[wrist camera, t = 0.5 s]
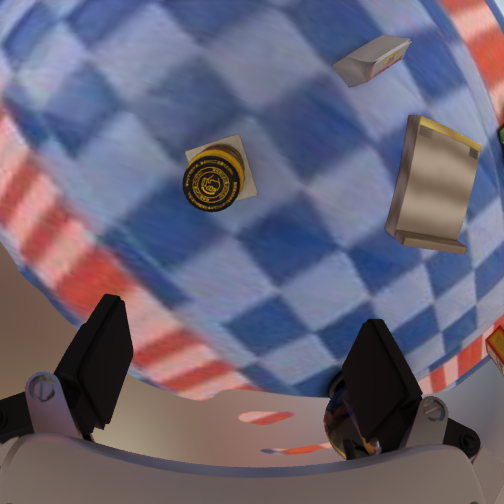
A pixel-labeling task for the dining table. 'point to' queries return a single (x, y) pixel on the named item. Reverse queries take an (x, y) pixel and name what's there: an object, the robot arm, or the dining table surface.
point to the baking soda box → (496, 348)
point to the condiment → (218, 175)
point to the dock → (433, 186)
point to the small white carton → (371, 59)
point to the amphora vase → (345, 424)
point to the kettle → (502, 136)
